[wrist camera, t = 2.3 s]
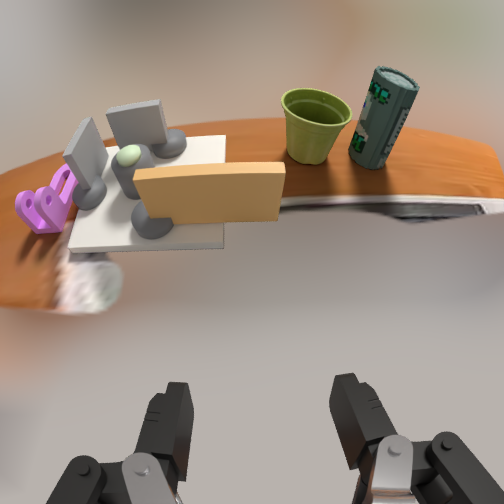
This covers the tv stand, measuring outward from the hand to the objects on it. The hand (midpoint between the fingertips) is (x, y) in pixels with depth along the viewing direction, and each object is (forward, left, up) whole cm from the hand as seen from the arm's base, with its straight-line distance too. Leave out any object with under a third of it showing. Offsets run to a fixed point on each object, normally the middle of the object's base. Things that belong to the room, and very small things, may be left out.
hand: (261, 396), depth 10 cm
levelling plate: (-13, +24, -16) cm, 32 cm away
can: (+19, +31, -16) cm, 40 cm away
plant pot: (+9, +31, -16) cm, 36 cm away
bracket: (-29, +25, -16) cm, 41 cm away
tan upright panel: (-5, +18, -14) cm, 24 cm away
